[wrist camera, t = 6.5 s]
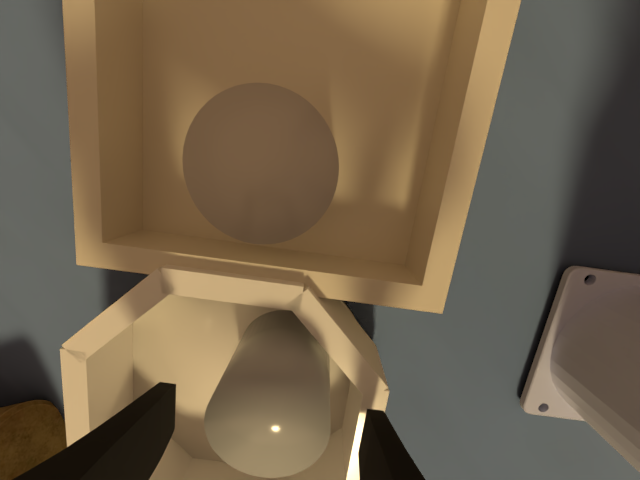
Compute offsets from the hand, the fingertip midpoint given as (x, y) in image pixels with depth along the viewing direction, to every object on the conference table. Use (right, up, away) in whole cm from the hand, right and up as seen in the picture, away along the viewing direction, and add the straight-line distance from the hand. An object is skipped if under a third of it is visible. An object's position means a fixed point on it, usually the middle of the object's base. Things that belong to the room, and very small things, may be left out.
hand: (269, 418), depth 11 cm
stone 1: (0, +10, +2) cm, 10 cm away
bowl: (-2, 0, +5) cm, 5 cm away
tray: (+1, +13, +2) cm, 13 cm away
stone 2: (0, +1, +4) cm, 4 cm away
